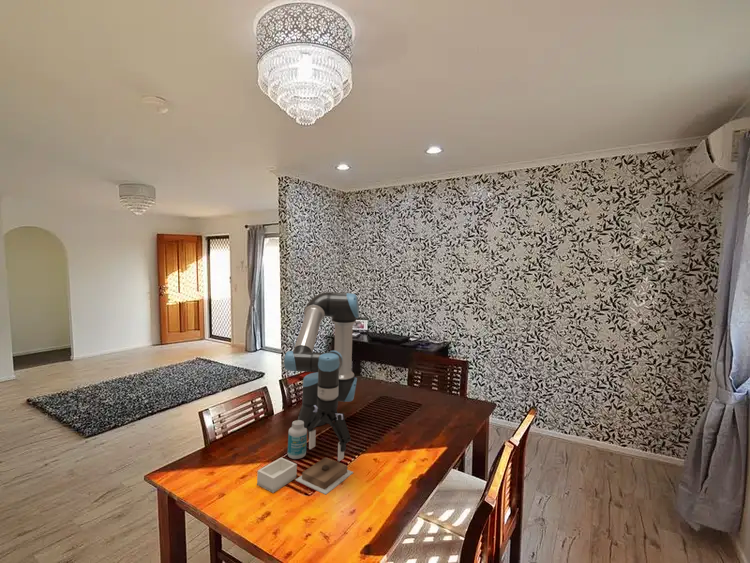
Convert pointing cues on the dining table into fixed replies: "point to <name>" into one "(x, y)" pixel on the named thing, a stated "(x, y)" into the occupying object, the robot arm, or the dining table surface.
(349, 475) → the mat
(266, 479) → the dish
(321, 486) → the cover
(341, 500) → the dining table surface
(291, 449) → the pill bottle
